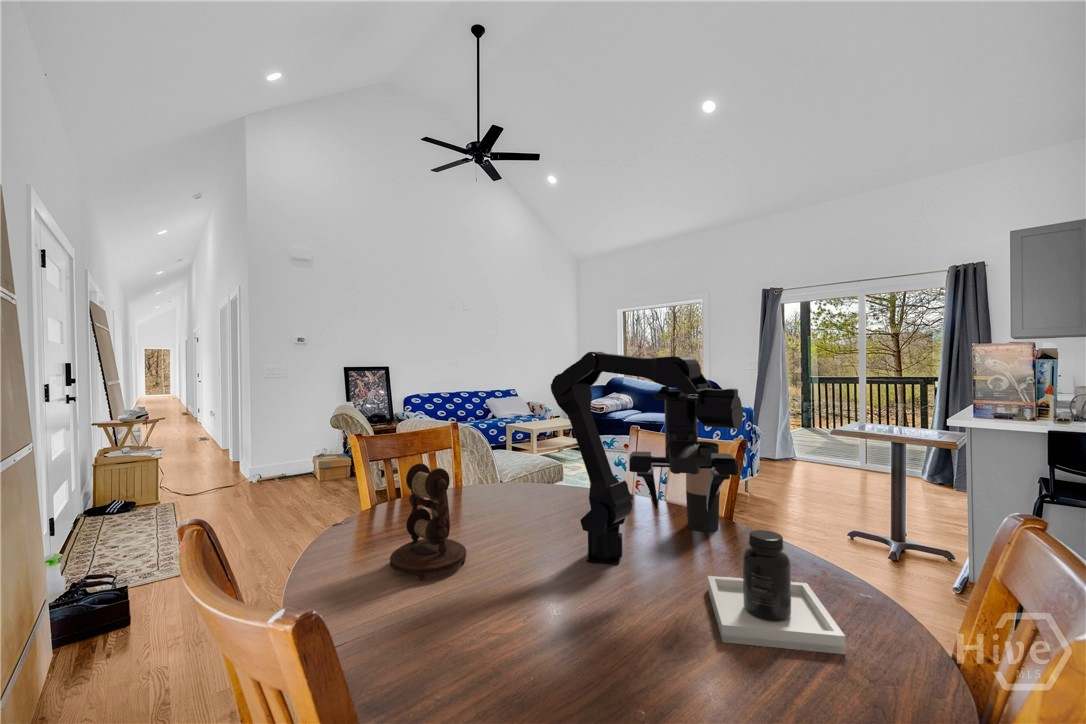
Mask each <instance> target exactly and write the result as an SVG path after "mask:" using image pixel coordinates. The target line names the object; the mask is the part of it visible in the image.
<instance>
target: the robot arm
mask: <svg viewBox="0 0 1086 724" xmlns="http://www.w3.org/2000/svg"><path fill="white" fill-rule="evenodd" d="M701 369H702V368H701V365H700V363H699V362H698V360H697V359H696V358H694V357H693V356H689V355H687V356H686V355H683V356H682V355H680V356H679V355H678V356H677V355H674V356H662V357H658V356H657V357H651V358H650V357H641V356H632V355H624V354H615V353H606V352H603V351H589V352H586V353H585V354H584V355H583V356H582V357H581V358H580V359H579V360H577V361H576V362H574V363H573V364H572V365H570V366H569V367H567V368H566V369H564V371H562V372H561V373H558V374H556V375H555V376H554V378H553V379H552V382H551V384H550V392H551V394H552V396H553V398H554V400H555V402H556V404H557V406H558V407H559V408H560V409H561V411H563V412H564V414H566V416H568V420H569V422H570V426H571V428H572V431H573V434H574V437H575V439H576V442H577V446H578V449H579V451H580V452H579V453H580V455H581V458H582V461H583V463H584V466H585V471H586V473H587V475H588V478H589V483H590V484H589V492H588V493H589V495H588V500H589V501H588V502H589V505H590V510H589V511H588V512H587V513H586V514H585V515H584V516H582V518H581V519H580V520H579V521H580V525H581V527H582V531H584V532H587V557H586V562H588V563H599V564H600V563H601V564H613V565H614V564H615V565H619V564H620V561H621V560H620V559H621V558H622V557H623V551H624V550H623V545H624V544H623V533H622V532H620V525H623V524H625V521H626V518H627V517H628V516H629V515H630V514H631V511H632V510H633V503H632V501H633V500H634V498H633V496H632V495H631V493H630V490H629V486H628V483H627V481H626V479H623V480H622V481H620V480H618V478H617V477H616V476H614V473H613V471H612V468H611V466H610V462H609V459H608V457H607V454H606V451H605V448H604V445H603V442H602V439H601V436H600V433H599V431H598V428H597V425H596V422H595V419H594V416H593V413H592V410H591V409H592V408H591V406H592V400H593V399H592V398H593V395H592V393H593V392H592V390H591V389H592V388H591V387H592V386H593V385H595V384H596V382H597V381H598V380H599V378H600V376H601V375H602V373H603V372H604V373H607V374H608V373H611V374H617V375H623V376H624V375H625V376H631V377H639V378H643V379H644V378H645V379H647V380H650V381H651V382H653V383H656V384H658V385H661V388H660V389H659V390H658V391H657V392H656V393H655V394H654V395H653V396H652V397H653V399H654V400H664V437H665V438H664V439H665V440H664V445H665V448H664V451H665V454H664V455H665V456H652V452H651V451H634V450H633V451H632V452H631V453H630V454H629V458H628V459H629V462H628V463H629V469H628V470H629V472H631V473H636V476H637V477H640V478H643V480H644V482H645V484H646V486H647V488H648V490H649V494H650V496H651V500H652V502H653V506H654V508H655V510H658V509H659V508H658V507H659V506H658V504H659V503H658V496H657V488H656V482H655V475H654V470H653V468H669V471H670V473H672V474H674V475H680V474H686V473H690V474H698V473H699V468H708V469H709V476H708V489H707V511H708V512H710V510H711V507H712V504H713V501H714V499H715V496H716V493H717V491H718V489H719V490H720V486H721V484H722V483H724V481H725V480H730V479H731V476H738V475H739V462H738V460H737V459H736V458H735V457H734V455H732V453H722V452H721V453H720V452H719V453H711V446H710V444H699V445H698V441H699V440H698V437H699V436H698V422H699V423H701V425H702V426H703V427H709V428H720V429H721V428H722V429H732V430H733V429H734V430H735V429H736V430H738V429H740V427H741V426H742V423H743V418H744V407H743V406H742V405H743V404H742V400H741V397H740V396H739V389H738V388H725V389H716V388H715V389H714V387H713V386H712V385H711V384H710V383H709V381H708V380H707V379H706V377H705V375H704V374H703V373H702V370H701ZM672 389H677V390H672ZM691 395H692V396H691ZM693 395H694V396H693ZM695 395H697V396H695Z"/></svg>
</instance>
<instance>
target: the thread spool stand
mask: <svg viewBox="0 0 1086 724" xmlns="http://www.w3.org/2000/svg"><path fill="white" fill-rule="evenodd" d="M450 481H451V480H450V474H449V473H448V471H447V470H446V469H444V468H442V467H437V468H434V469H432V470H430V468H429V466H427V465H426V464H425V463H415V464H414V465H412V466H411V467H410V468H409V469H408V471H407V473H406V478H405V482H406V483H405V484H406V486H407V488H408V489H409V490H410V493H411V494H410V496H409V499H408V501H409V503H410V505H411V507H412V509H411V511H410V512H411V513H410V514H409V516H408V517H407V520H406V524H405V525H406V531H407V533H408V534H409V535H410V536H411V538H410V539H411V541H410V542H408V543H405V544H403V545H401V546H400V547H399V548H397V549H395V550H394V551H393V552H392V553H391V554H390V557H389V565H390V567H391V569H392V570H394V571H395V572H397V573H400V574H404V575H411V576H418V579H419V581H420V582H423V581H424V579H425V576H426V575H434V574H439V573H444V572H447V571H449V570H452V569H454V568H456V567H458V566H460V565H461V566H464V565H465V562H466V559H467V549H466V547H465V545H463V544H462V543H460V542H458V541H457V540H454V539H449V536H450V530H451V520H450V519H451V517H450V507H449V505H450V504H449V498H448V493H447V491H448V489H449V487H450ZM418 506H423V507H424V508H418ZM427 509H430V510H431V514H430V512H429V511H428V510H427ZM431 515H432V518H431ZM419 538H421V539H419Z"/></svg>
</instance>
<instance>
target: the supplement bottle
mask: <svg viewBox="0 0 1086 724" xmlns="http://www.w3.org/2000/svg"><path fill="white" fill-rule="evenodd" d="M748 545H749V546H750V547H748V548H746V549H745V550H744V552H743V554H742V578H743V598H744V607H745V609H746V610H747V612H749V613H750V614H751V615H753V616H755V617H757V618H760V619H763V620H767V621H783V620H786V619H788V618H789V617H790V615H791V582H792V576H791V575H792V573H791V572H792V569H791V559H790V558H789V556H788V555H787V554H786V553H785V552H784V551H783V550H784V537H783V536H782V534H780V533H777V532H775V531H773V530H772V531H771V530H764V529H755V530H751V531H750V532H749V541H748Z"/></svg>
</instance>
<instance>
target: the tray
mask: <svg viewBox="0 0 1086 724" xmlns="http://www.w3.org/2000/svg"><path fill="white" fill-rule="evenodd" d="M707 592H708V595H709V596H708V597H709V599H710V603H711V606H712V607H711V608H712V609H713V614H714V617H715V619H716V624H717V628H718V631H719V635H720V638H721V642H722V643H724V644H725V643H728V644H737V645H749V646H758V647H768V648H777V649H786V650H787V649H788V650H799V651H805V652H806V651H807V652H809V651H810V652H817V653H819V652H820V653H828V654H837V655H838V654H839V655H846V634H844V632H843V631H842V630H841V628H840V627H839V625H838V624H837V623H836V621H835V620H834V618H833V617H832V615H831V614H830V613H829V611H828V610H827V608H826V607H825V606H824V605H823V603H822V602H821V600H820V599H819V598H818V596H817V595H816V594H815V592H814V591H813V590H812V587H810V585H809V584H808V583H807V582H796V581H791V615H790V617H789V618H788V619H786V620H783V621H767V620H763V619H760V618H757V617H755V616H753V615H751V614H750V613H749V612H747V610H746V609H745V607H744V598H743V577H742V578H740V577H728V576H714V575H707Z"/></svg>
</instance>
